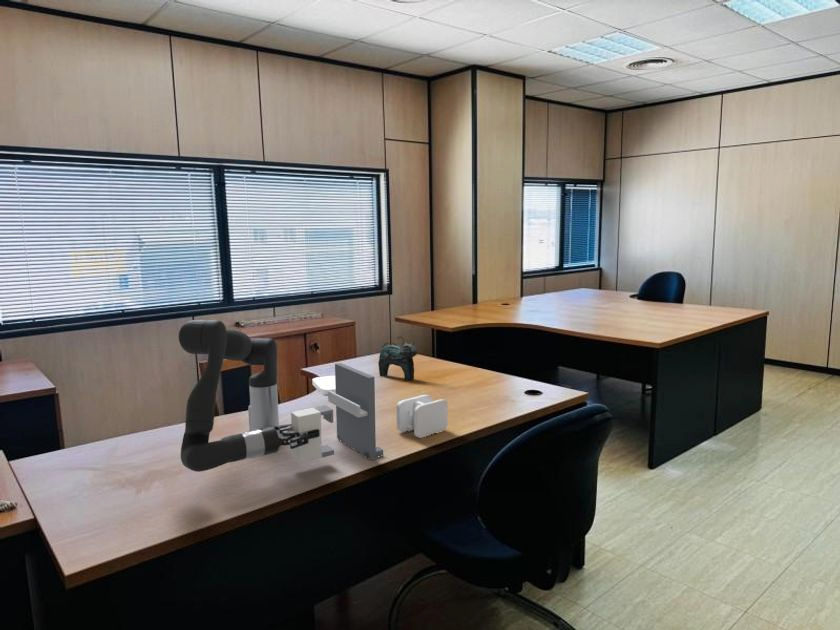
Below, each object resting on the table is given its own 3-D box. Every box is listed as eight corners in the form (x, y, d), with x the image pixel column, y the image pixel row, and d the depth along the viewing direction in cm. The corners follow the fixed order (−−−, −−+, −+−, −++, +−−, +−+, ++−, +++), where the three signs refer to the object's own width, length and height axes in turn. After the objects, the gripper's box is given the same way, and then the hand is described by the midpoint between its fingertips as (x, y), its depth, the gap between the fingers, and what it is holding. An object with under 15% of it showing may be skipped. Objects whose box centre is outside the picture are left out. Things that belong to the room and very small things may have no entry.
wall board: (328, 440, 191) (325, 365, 187) (350, 435, 196) (348, 361, 192) (360, 462, 173) (359, 379, 169) (384, 456, 178) (382, 375, 174)
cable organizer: (415, 441, 190) (415, 408, 189) (395, 433, 198) (395, 400, 196) (448, 431, 200) (448, 399, 198) (428, 423, 208) (427, 392, 206)
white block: (292, 457, 168) (291, 412, 166) (326, 449, 175) (325, 405, 172) (299, 463, 164) (298, 416, 162) (334, 454, 171) (333, 409, 168)
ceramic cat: (418, 379, 267) (418, 337, 264) (410, 382, 262) (410, 339, 258) (383, 373, 277) (383, 333, 274) (375, 376, 272) (375, 335, 269)
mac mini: (311, 383, 262) (310, 378, 261) (357, 378, 271) (356, 372, 270) (323, 396, 242) (323, 390, 242) (372, 390, 251) (372, 384, 250)
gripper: (267, 437, 153) (325, 424, 162) (249, 422, 164) (304, 411, 174) (268, 464, 154) (326, 449, 164) (250, 447, 165) (305, 434, 175)
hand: (314, 429), depth 169 cm, fingers closed on white block, 5 cm apart
